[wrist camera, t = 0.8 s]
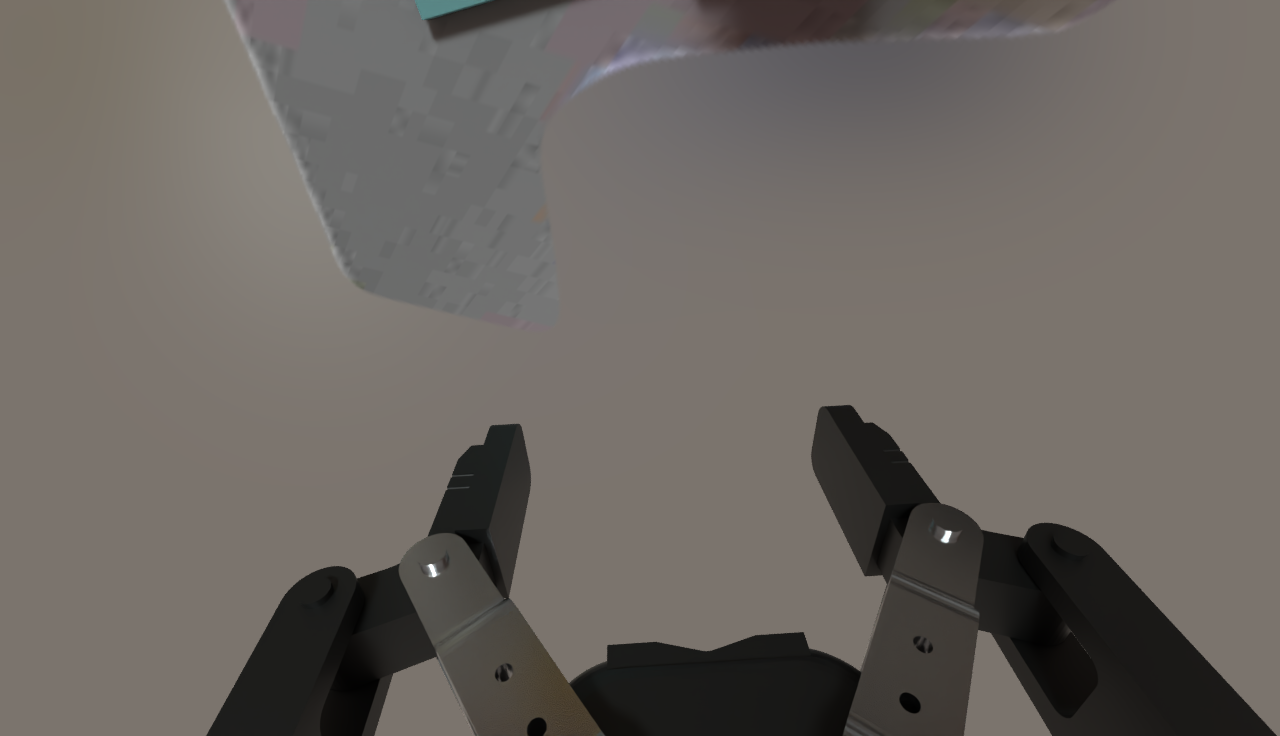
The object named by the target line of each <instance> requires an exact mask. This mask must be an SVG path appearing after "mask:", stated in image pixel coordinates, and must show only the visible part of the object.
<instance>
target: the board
mask: <svg viewBox="0 0 1280 736" xmlns="http://www.w3.org/2000/svg"><path fill="white" fill-rule="evenodd" d="M491 1H494V0H415V2H416V5H417V7H418V10H419V12H420V15H421V18H422V20H430V19H433V18H437V17H440V16H443V15H447V14H450V13H454V12H457V11H460V10H464V9H467V8H470V7H474V6H477V5H481V4H484V3H487V2H491Z"/></svg>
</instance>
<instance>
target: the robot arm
mask: <svg viewBox="0 0 1280 736" xmlns="http://www.w3.org/2000/svg"><path fill="white" fill-rule="evenodd" d="M811 457H812V465H813V470H814V472H815V475H816V477H817V479H818V481H819V483H820V485H821V487H822V489H823V491H824V493H825V496H826V498H827V500H828V502H829V504H830V506H831V508H832V510H833V512H834V514H835V516H836V518H837V520H838V522H839V524H840V526H841V528H842V530H843V533H844V534H845V537H846V539H847V541H848V543H849V545H850V547H851V549H852V551H853V553H854V555H855V557H856V559H857V561H858V563H859V565H860V567H861V569H862V571H863V573H864V575H865V576H877V575H883V577H884V579H885V581H886V583H887V586H886V589H885V592H884V595H883V598H882V602H881V605H880V608H879V611H878V614H877V617H876V621H875V624H874V627H873V630H872V633H871V637H870V640H869V643H868V646H867V649H866V653H865V656H864V659H863V662H862V665H861V668H860V671H859V670H857V669H856V668H854V667H853V666H851V665H849V664H848V663H846V662H844V661H842V660H841V659H838V658H836V657H834V656H832V655H829V654H827V653H824V652H821V651H817V650H813V649H809V647H808V644H807V641H806V638H805V635H804V633H803V632H800V633H784V634H769V635H755V636H752V637H749V638H747V639H744V640H741V641H738V642H735V643H732V644H729V645H727V646H724V647H721V648H718V649H715V650H712V651H700V650H695V649H689V648H684V647H679V646H674V645H669V644H664V643H659V642H648V643H633V644H618V645H608V647H607V661H606V662H603V663H601V664H598V665H596V666H594V667H592V668H590V669H588V670H586V671H585V672H583V673H582V674H580V675H579V676H577V677H576V678H575V679H573V680H572V681H571V682H570V683H568V682H567V680H566V679H565V677H564V676H563V674H562V673H561V671H560V670H559V668H558V667H557V666H556V664H555V662H554V661H553V660H552V658H551V657H550V655H549V654H548V652H547V651H546V649H545V648H544V646H543V645H542V643H541V642H540V641H539V639H538V638H537V636H536V635H535V633H534V632H533V630H532V629H531V627H530V626H529V625H528V623H527V621H526V620H525V619H524V617H523V616H522V614H521V613H520V611H519V610H518V608H517V607H516V606H515V604H514V603H513V602H512V600H510V599H509V593H510V588H511V584H512V579H513V574H514V568H515V564H516V558H517V553H518V548H519V543H520V538H521V533H522V528H523V523H524V518H525V513H526V508H527V503H528V497H529V493H530V486H531V473H530V466H529V461H528V456H527V451H526V446H525V441H524V436H523V431H522V427H521V426H520V424H508V425H492V426H491V427H490V428H489V431H488V434H487V437H486V440H485V443H484V445H475V446H471V447H470V448H469V449H468V450H467V451H466V452H465V453H464V454H463V455H462V456H461V457H460V458H459V459H458V461H457V464H456V466H455V469H454V471H453V474H452V478H451V479H450V482H449V484H448V486H447V488H448V490H446V492H445V494H444V497H443V499H442V502H441V504H440V507H439V509H438V512H437V515H436V517H435V519H434V522H433V525H432V527H431V529H430V532H429V535H428V537H426V538H424V539H422V540H421V541H419V542H417V543H416V544H415V545H414V546H412V547H411V548H410V549H409V550H408V551H407V552H406V554H405V555H404V557H403V558H402V560H401V562H400V564H398V565H396V566H393V567H390V568H388V569H385V570H382V571H379V572H376V573H373V574H370V575H366V576H364V577H360V578H356V576H355V574H354V573H353V572H352V571H351V570H350V569H348V568H345V567H341V566H333V567H327V568H323V569H320V570H317V571H315V572H313V573H311V574H309V575H307V576H306V577H304V578H303V579H301V580H300V581H298V582H297V583H296V584H295V585H294V586H293V587H292V588H291V589H290V590H289V591H288V592H287V593H286V594H285V596H284V597H283V599H282V600H281V602H280V604H279V606H278V608H277V609H276V611H275V613H274V615H273V617H272V619H271V620H270V622H269V624H268V626H267V627H266V629H265V631H264V633H263V635H262V637H261V638H260V640H259V642H258V644H257V645H256V647H255V649H254V651H253V653H252V655H251V656H250V658H249V660H248V662H247V663H246V665H245V667H244V669H243V671H242V672H241V674H240V676H239V678H238V680H237V681H236V683H235V685H234V687H233V689H232V691H231V692H230V694H229V696H228V698H227V699H226V701H225V703H224V705H223V707H222V708H221V710H220V712H219V714H218V716H217V718H216V720H215V721H214V723H213V725H212V727H211V728H210V730H209V732H208V734H207V736H374V735H375V731H376V728H377V725H378V721H379V718H380V715H381V711H382V708H383V705H384V702H385V698H386V695H387V692H388V689H389V685H390V682H391V679H392V676H393V673H395V672H398V671H401V670H403V669H406V668H408V667H411V666H413V665H416V664H418V663H421V662H424V661H426V660H429V659H432V658H434V657H436V659H437V660H438V663H439V665H440V666H441V669H442V671H443V673H444V675H445V677H446V679H447V681H448V683H449V685H450V687H451V690H452V691H453V694H454V696H455V698H456V700H457V702H458V704H459V706H460V708H461V710H462V712H463V714H464V717H465V719H466V720H467V723H468V725H469V727H470V729H471V731H472V733H473V736H964V730H965V722H966V715H967V707H968V700H969V692H970V685H971V678H972V670H973V663H974V655H975V648H976V640H977V633H978V630H981V631H986V632H990V633H991V634H992V635H993V637H994V639H995V640H996V642H997V644H998V645H999V647H1000V648H1001V650H1002V652H1003V654H1004V655H1005V657H1006V659H1007V660H1008V662H1009V664H1010V665H1011V667H1012V668H1013V671H1014V672H1015V674H1016V675H1017V677H1018V679H1019V680H1020V682H1021V684H1022V686H1023V687H1024V689H1025V691H1026V692H1027V694H1028V695H1029V697H1030V699H1031V701H1032V702H1033V704H1034V706H1035V707H1036V709H1037V711H1038V712H1039V714H1040V716H1041V717H1042V719H1043V721H1044V722H1045V724H1046V726H1047V728H1048V729H1049V731H1050V733H1051V734H1052V736H1277V735H1276V734H1275V733H1274V732H1273V731H1272V730H1271V729H1270V728H1269V727H1268V726H1267V725H1266V724H1265V723H1264V721H1263V720H1262V719H1261V718H1260V717H1259V716H1258V715H1257V714H1256V713H1255V712H1254V711H1253V710H1252V709H1251V707H1250V706H1249V705H1248V704H1247V703H1246V702H1245V701H1244V700H1243V699H1242V698H1241V697H1240V696H1239V695H1238V694H1237V692H1236V691H1235V690H1234V689H1233V688H1232V687H1231V686H1230V685H1229V684H1228V683H1227V682H1226V681H1225V679H1223V677H1222V676H1221V675H1220V674H1219V673H1218V672H1217V671H1216V670H1215V669H1214V668H1213V667H1212V666H1211V664H1210V663H1209V662H1208V661H1207V660H1206V659H1205V658H1204V657H1203V656H1202V655H1201V654H1200V653H1199V652H1198V650H1196V648H1195V647H1194V646H1193V645H1192V644H1191V643H1190V642H1189V641H1188V640H1187V639H1186V638H1185V636H1183V634H1182V633H1181V632H1180V631H1179V630H1178V629H1177V628H1176V627H1175V626H1174V625H1173V624H1172V623H1171V621H1169V619H1168V618H1167V617H1166V616H1165V615H1164V614H1163V613H1162V612H1161V611H1160V610H1159V609H1158V607H1157V606H1156V605H1155V604H1154V603H1153V602H1152V601H1151V600H1150V599H1149V598H1148V597H1147V596H1146V595H1145V593H1144V592H1142V590H1141V589H1140V588H1139V587H1138V586H1137V585H1136V584H1135V583H1134V582H1133V581H1132V580H1131V578H1130V577H1129V576H1128V575H1127V574H1126V573H1125V572H1124V571H1123V570H1122V569H1121V568H1120V567H1119V565H1117V563H1116V562H1115V561H1114V560H1113V559H1112V558H1111V557H1110V556H1109V555H1108V554H1107V553H1106V552H1105V551H1104V549H1103V548H1102V547H1101V546H1100V545H1098V544H1097V543H1096V542H1095V541H1093V540H1092V539H1091V538H1089V537H1088V536H1086V535H1084V534H1082V533H1080V532H1079V531H1076V530H1074V529H1071V528H1069V527H1066V526H1062V525H1059V524H1053V523H1039V524H1035V525H1033V526H1031V527H1030V528H1029V529H1028V531H1027V533H1026V535H1025V537H1024V538H1020V537H1015V536H1009V535H1004V534H998V533H993V532H988V531H984V530H981V529H980V527H979V526H978V524H977V523H976V522H975V521H974V520H973V519H972V518H970V517H969V516H968V515H966V514H965V513H964V512H962V511H960V510H958V509H956V508H954V507H951V506H948V505H945V504H941V503H940V502H939V501H938V499H937V498H936V497H935V495H934V494H933V493H932V491H931V490H930V489H929V487H928V486H927V485H926V483H925V482H924V481H923V479H922V478H921V477H920V475H919V474H918V472H917V471H916V470H915V468H914V467H913V466H912V464H911V463H909V462H908V459H907V457H906V456H905V455H904V453H903V452H902V451H900V448H899V447H898V445H897V444H896V443H895V441H894V440H893V439H892V437H891V436H890V435H889V434H888V433H887V432H885V431H884V430H882V429H881V428H880V427H878V426H877V425H875V424H874V423H864V422H863V421H862V419H861V418H860V416H859V415H858V413H857V412H856V410H855V409H854V408H853V407H852V406H851V405H843V406H825V407H821V408H820V410H819V413H818V417H817V423H816V429H815V434H814V441H813V446H812V454H811ZM504 598H506V599H504ZM1071 631H1072V632H1071ZM1073 634H1074V635H1075V636H1074V635H1073ZM1076 638H1077V639H1078V640H1077V639H1076ZM1079 642H1080V643H1079ZM1082 646H1083V647H1082ZM1085 650H1086V651H1085ZM1088 654H1089V655H1088ZM1090 657H1091V658H1090Z"/></svg>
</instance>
